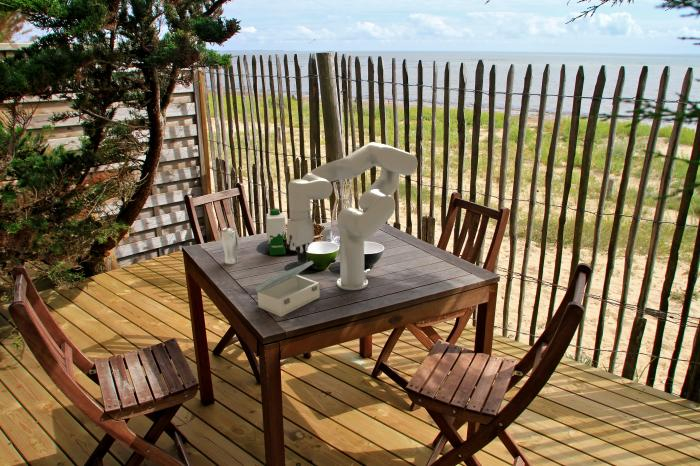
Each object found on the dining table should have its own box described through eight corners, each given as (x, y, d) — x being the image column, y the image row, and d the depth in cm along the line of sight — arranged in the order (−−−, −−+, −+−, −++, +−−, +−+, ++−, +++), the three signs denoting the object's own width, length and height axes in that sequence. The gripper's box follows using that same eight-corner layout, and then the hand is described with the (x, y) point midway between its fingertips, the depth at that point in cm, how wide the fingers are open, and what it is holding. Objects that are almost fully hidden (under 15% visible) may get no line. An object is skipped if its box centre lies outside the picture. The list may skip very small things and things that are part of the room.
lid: (296, 274, 205) (295, 271, 206) (313, 263, 197) (312, 260, 197) (256, 291, 191) (255, 288, 191) (273, 280, 183) (271, 277, 183)
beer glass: (237, 264, 231) (235, 232, 226) (222, 265, 231) (219, 232, 226) (241, 259, 238) (238, 227, 233) (225, 259, 238) (223, 227, 233)
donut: (340, 246, 252) (340, 226, 249) (340, 248, 249) (340, 228, 245) (319, 246, 252) (319, 226, 249) (319, 249, 249) (318, 229, 245)
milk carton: (286, 248, 250) (283, 207, 244) (287, 254, 242) (285, 213, 235) (267, 249, 248) (264, 209, 242) (268, 256, 240) (265, 214, 234)
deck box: (297, 288, 207) (296, 274, 205) (321, 297, 199) (320, 283, 197) (258, 306, 193) (257, 291, 191) (282, 317, 185) (281, 302, 183)
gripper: (307, 207, 196) (309, 253, 203) (277, 217, 186) (280, 264, 192) (322, 211, 192) (323, 257, 198) (292, 221, 181) (294, 270, 187)
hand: (302, 261), depth 195 cm, fingers closed
